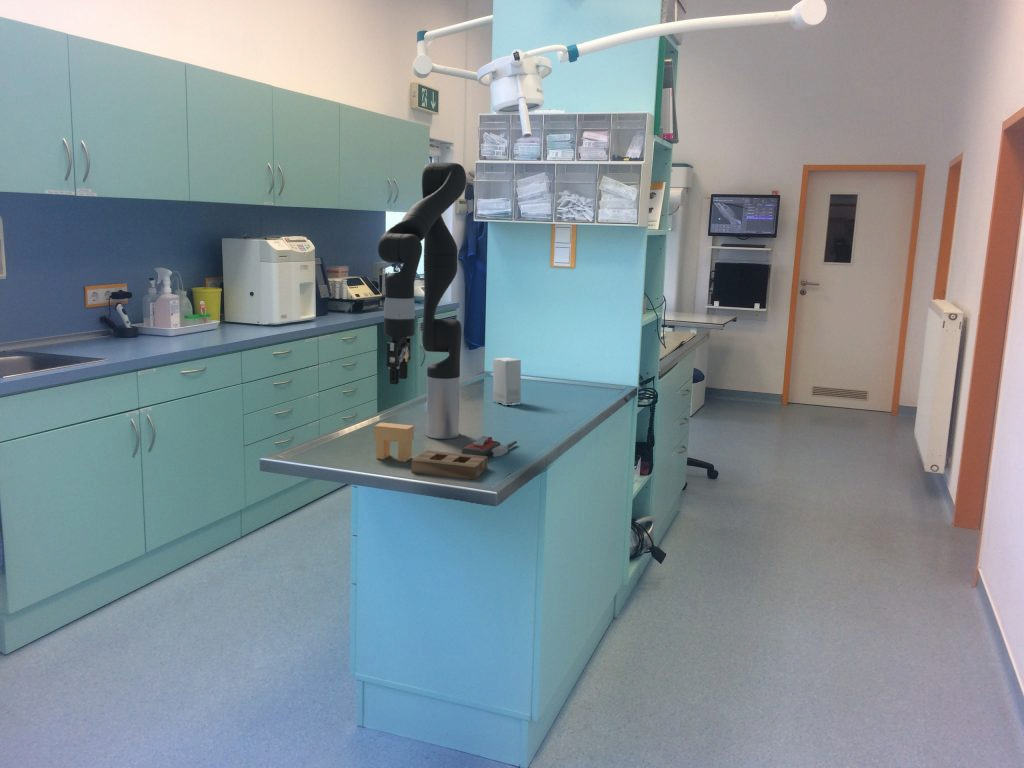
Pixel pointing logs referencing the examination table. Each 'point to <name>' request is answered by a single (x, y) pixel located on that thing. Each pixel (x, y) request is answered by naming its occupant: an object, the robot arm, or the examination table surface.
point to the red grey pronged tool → (486, 447)
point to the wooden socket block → (450, 464)
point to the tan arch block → (394, 433)
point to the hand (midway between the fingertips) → (398, 381)
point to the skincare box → (507, 380)
